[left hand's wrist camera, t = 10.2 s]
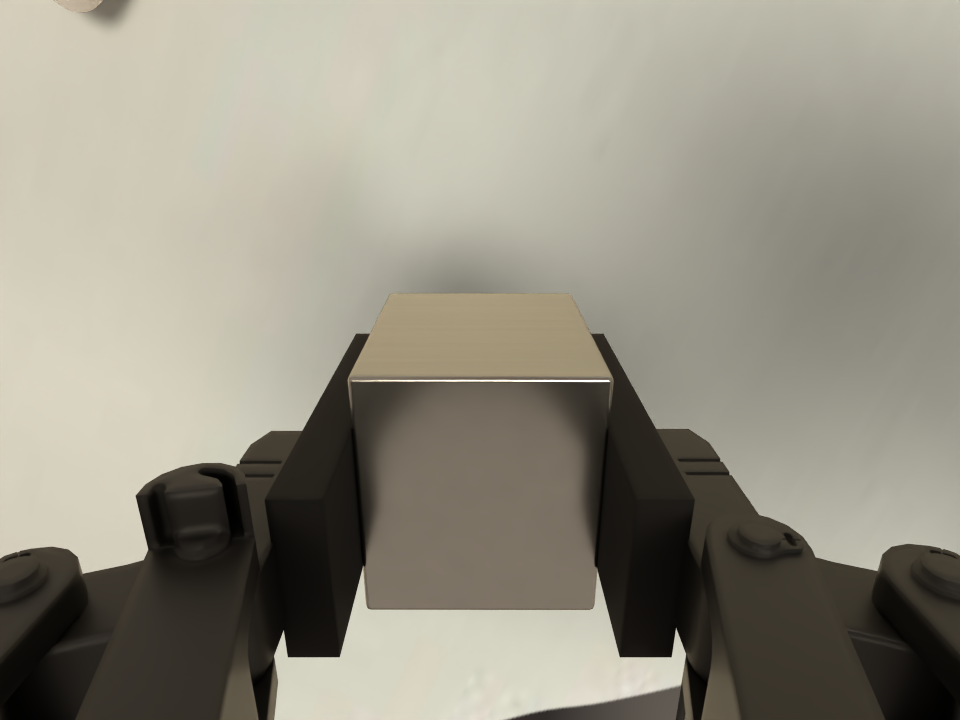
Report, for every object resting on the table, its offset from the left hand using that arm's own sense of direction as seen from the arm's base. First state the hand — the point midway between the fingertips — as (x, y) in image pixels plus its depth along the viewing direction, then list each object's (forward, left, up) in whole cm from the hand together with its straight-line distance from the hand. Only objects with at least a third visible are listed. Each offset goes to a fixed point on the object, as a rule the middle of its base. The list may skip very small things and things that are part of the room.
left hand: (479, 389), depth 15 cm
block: (0, 0, 0) cm, 0 cm away
